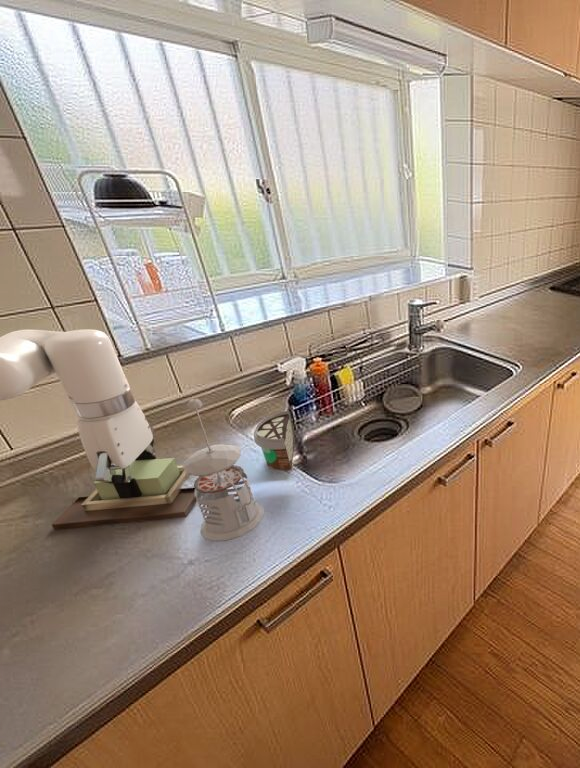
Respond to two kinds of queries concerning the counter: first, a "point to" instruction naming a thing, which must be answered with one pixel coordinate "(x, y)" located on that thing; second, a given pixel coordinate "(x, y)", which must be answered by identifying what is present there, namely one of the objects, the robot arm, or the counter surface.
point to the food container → (276, 440)
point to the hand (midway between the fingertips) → (141, 483)
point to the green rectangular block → (145, 478)
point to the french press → (222, 489)
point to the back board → (128, 507)
